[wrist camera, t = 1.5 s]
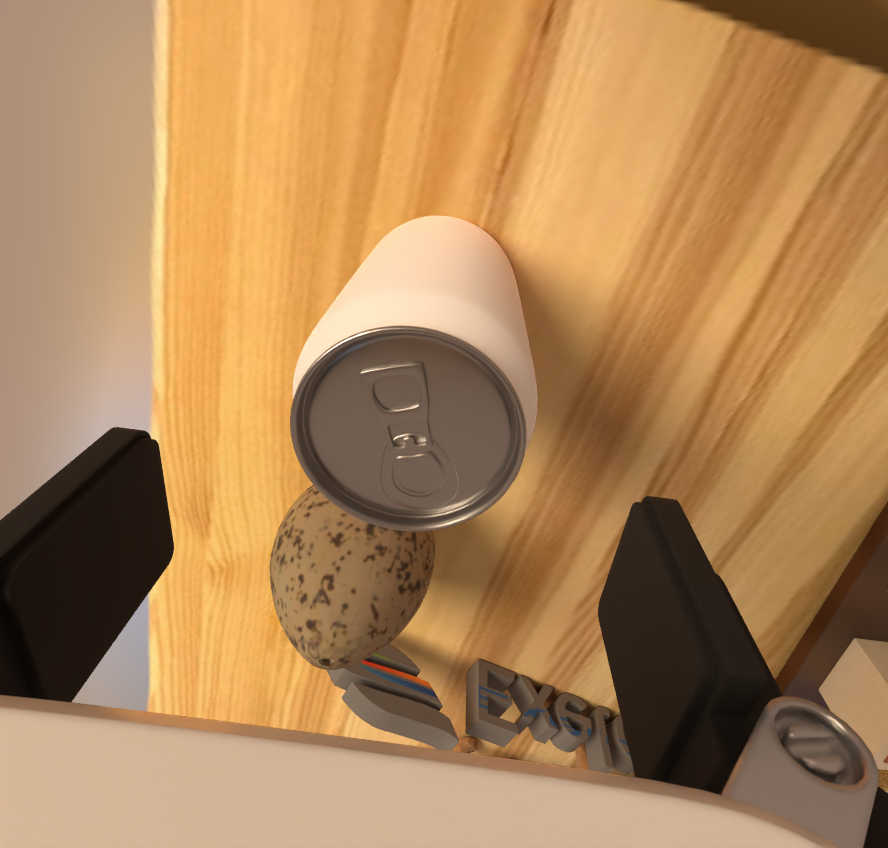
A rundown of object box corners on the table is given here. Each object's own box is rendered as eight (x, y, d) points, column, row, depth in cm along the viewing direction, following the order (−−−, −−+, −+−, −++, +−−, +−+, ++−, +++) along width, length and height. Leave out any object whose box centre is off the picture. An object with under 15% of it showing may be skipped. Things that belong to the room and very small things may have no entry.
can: (383, 374, 26) (317, 556, 15) (345, 229, 23) (230, 333, 12) (525, 352, 25) (557, 530, 14) (505, 198, 22) (528, 282, 11)
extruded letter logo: (317, 615, 34) (289, 701, 29) (326, 599, 33) (299, 685, 28) (661, 746, 38) (688, 841, 33) (676, 735, 37) (705, 830, 33)
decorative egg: (372, 569, 32) (331, 743, 23) (274, 489, 29) (187, 650, 21) (468, 504, 29) (463, 673, 20) (370, 411, 27) (317, 557, 18)
